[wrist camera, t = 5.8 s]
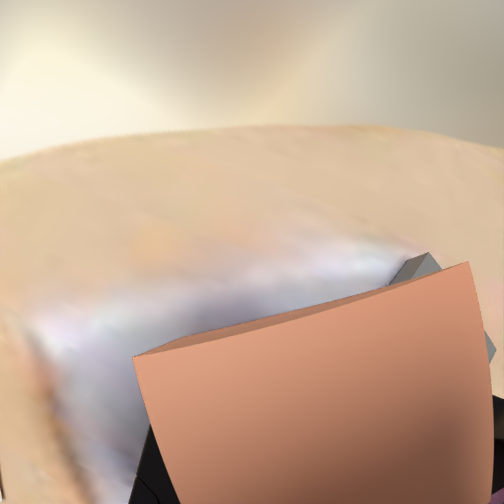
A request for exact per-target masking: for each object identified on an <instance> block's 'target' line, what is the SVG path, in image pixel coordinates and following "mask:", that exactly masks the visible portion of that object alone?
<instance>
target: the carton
mask: <svg viewBox="0 0 504 504" xmlns="http://www.w3.org/2000/svg"><path fill="white" fill-rule="evenodd" d="M132 360H133V364H134V368H135V372H136V376H137V379H138V383H139V387H140V390H141V394H142V397H143V401H144V404H145V407H146V410H147V414H148V417H149V420H150V423H151V426H152V429H153V432H154V435H155V438H156V441H157V444H158V447H159V450H160V453H161V455H162V458H163V461H164V463H165V466H166V469H167V471H168V474H169V476H170V479H171V482H172V484H173V486H174V489H175V491H176V494H177V496H178V498H179V501H180V503H181V504H488V503H489V502H490V500H491V490H492V478H493V458H494V421H493V400H492V387H491V377H490V368H489V359H488V352H487V345H486V339H485V333H484V327H483V322H482V317H481V311H480V307H479V302H478V297H477V293H476V289H475V285H474V281H473V277H472V273H471V269H470V265H469V262H468V261H467V262H464V263H461V264H458V265H455V266H452V267H449V268H446V269H443V270H440V271H436V272H433V273H430V274H427V275H423V276H420V277H417V278H414V279H410V280H407V281H403V282H400V283H397V284H393V285H390V286H386V287H383V288H379V289H376V290H372V291H368V292H365V293H361V294H357V295H354V296H350V297H346V298H342V299H338V300H334V301H331V302H327V303H323V304H319V305H315V306H310V307H306V308H302V309H298V310H294V311H290V312H285V313H281V314H277V315H273V316H269V317H265V318H261V319H257V320H254V321H250V322H246V323H241V324H237V325H233V326H229V327H225V328H221V329H216V330H212V331H208V332H203V333H199V334H194V335H190V336H185V337H181V338H179V339H176V340H174V341H171V342H169V343H167V344H164V345H162V346H159V347H157V348H154V349H152V350H149V351H147V352H144V353H142V354H139V355H137V356H134V357H132Z"/></svg>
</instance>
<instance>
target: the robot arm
mask: <svg viewBox="0 0 504 504" xmlns="http://www.w3.org/2000/svg"><path fill="white" fill-rule="evenodd" d="M492 400H493V421H494V458H493V478H492V490H491V500H490V502H489V503H488V504H504V399H502V398H499V397H497V396H494V395H492ZM136 475H137V476H138V477H135V481H134V485H133V489H132V492H131V496H130V499H129V503H128V504H181V503H180V501H179V498H178V496H177V494H176V491H175V489H174V486H173V484H172V482H171V479H170V476H169V474H168V471H167V469H166V466H165V463H164V461H163V458H162V455H161V453H160V450H159V447H158V444H157V441H156V438H155V435H154V432H153V429H152V426H151V423H150V426H149V429H148V433H147V436H146V440H145V444H144V447H143V451H142V455H141V458H140V462H139V466H138V470H137V474H136Z"/></svg>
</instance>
